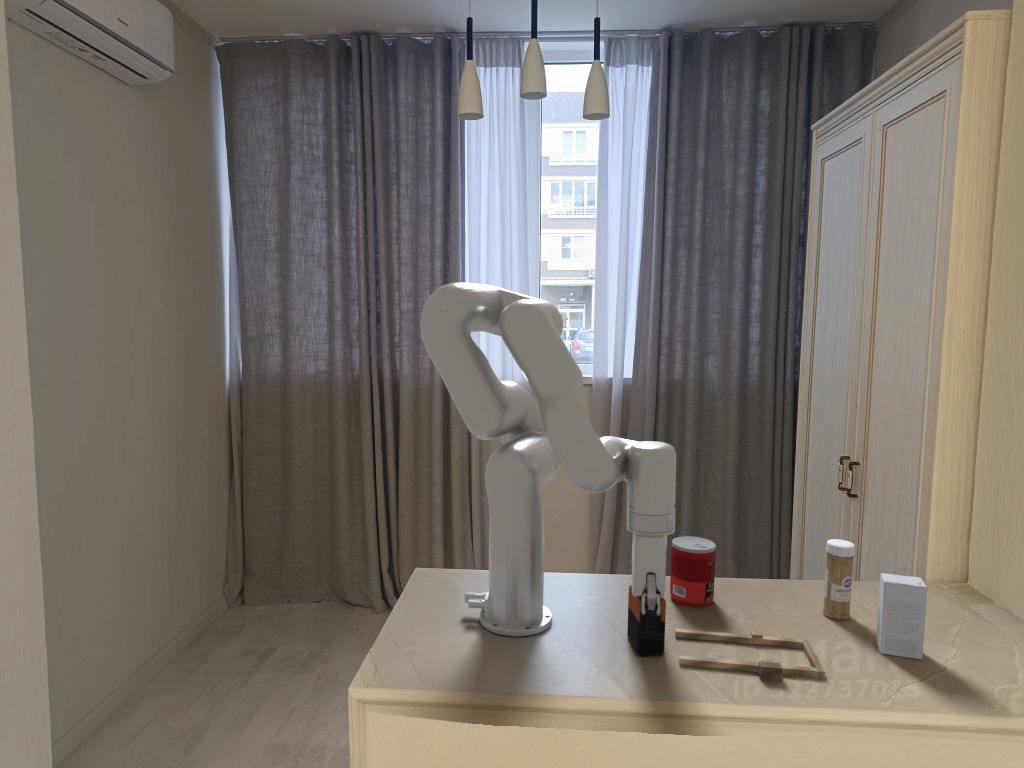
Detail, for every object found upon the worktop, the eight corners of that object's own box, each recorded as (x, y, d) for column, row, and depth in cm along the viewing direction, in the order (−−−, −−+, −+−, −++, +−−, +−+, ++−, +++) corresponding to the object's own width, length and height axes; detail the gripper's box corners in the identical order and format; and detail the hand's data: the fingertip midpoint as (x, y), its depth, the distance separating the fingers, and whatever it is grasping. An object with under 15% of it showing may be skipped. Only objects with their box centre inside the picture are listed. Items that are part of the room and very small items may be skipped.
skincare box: (916, 648, 111) (922, 577, 110) (922, 660, 107) (928, 587, 106) (874, 641, 113) (879, 571, 112) (879, 654, 109) (884, 581, 108)
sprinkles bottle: (841, 623, 120) (846, 548, 118) (816, 613, 123) (821, 541, 122) (855, 616, 122) (860, 543, 121) (830, 607, 126) (835, 536, 125)
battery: (652, 635, 114) (654, 578, 113) (665, 656, 108) (667, 595, 107) (626, 636, 114) (628, 578, 113) (638, 657, 107) (640, 596, 106)
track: (680, 671, 103) (680, 659, 103) (674, 634, 115) (675, 622, 115) (828, 686, 100) (829, 673, 99) (807, 645, 112) (808, 634, 111)
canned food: (715, 610, 125) (718, 551, 123) (670, 605, 126) (672, 547, 125) (711, 593, 132) (714, 537, 131) (669, 589, 134) (671, 534, 132)
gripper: (626, 504, 118) (625, 600, 119) (626, 536, 101) (625, 648, 102) (671, 506, 116) (670, 603, 118) (679, 539, 99) (677, 652, 101)
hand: (649, 624), depth 110 cm, fingers open, 9 cm apart
